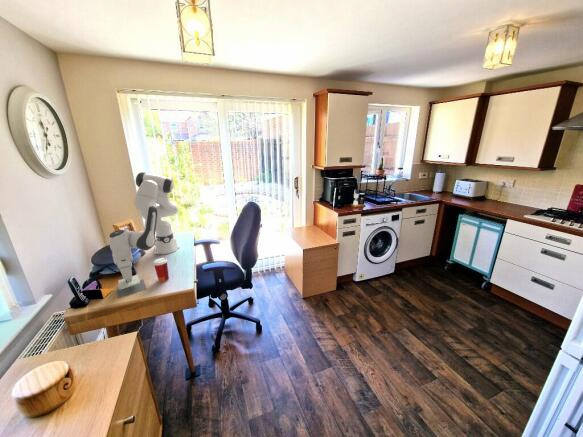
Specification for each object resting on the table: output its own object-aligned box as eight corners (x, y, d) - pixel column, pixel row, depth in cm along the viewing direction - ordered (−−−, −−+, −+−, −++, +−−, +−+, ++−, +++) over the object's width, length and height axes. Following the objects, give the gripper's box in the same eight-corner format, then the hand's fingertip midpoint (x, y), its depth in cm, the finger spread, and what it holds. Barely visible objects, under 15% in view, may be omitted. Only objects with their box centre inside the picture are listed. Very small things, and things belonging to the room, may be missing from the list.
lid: (118, 281, 141) (116, 275, 140) (138, 276, 147) (136, 269, 146) (119, 289, 134) (117, 282, 132) (140, 283, 140) (138, 276, 138)
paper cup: (168, 275, 155) (164, 256, 151) (172, 280, 150) (168, 260, 146) (155, 280, 150) (150, 260, 146) (159, 285, 145) (154, 264, 140)
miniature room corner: (81, 302, 130) (77, 292, 128) (96, 289, 141) (93, 279, 139) (103, 301, 131) (100, 291, 129) (117, 289, 142) (115, 279, 140)
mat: (116, 288, 142) (116, 287, 142) (143, 279, 151) (143, 279, 150) (118, 299, 132) (118, 298, 132) (147, 290, 140) (146, 289, 140)
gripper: (115, 253, 141) (120, 273, 146) (117, 267, 126) (123, 289, 130) (128, 250, 145) (132, 270, 149) (131, 263, 130) (137, 285, 134)
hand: (128, 279), depth 140 cm, fingers closed on lid, 3 cm apart
